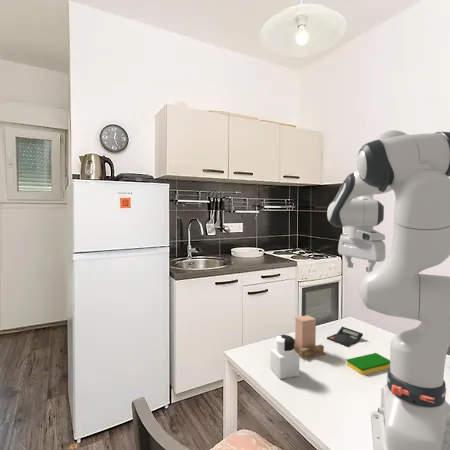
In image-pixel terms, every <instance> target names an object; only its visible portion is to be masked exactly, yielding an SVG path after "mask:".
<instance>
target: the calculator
mask: <svg viewBox="0 0 450 450" xmlns="http://www.w3.org/2000/svg"><path fill="white" fill-rule="evenodd" d="M362 337H363V332H360V331H356V330H353V329H351V328H347V327H345V326H341V327H340V329H339V330H338V331H337V332H336V333H335V334H332V335H330V336H327V337H326V340H329V341H332V342H334V343H336V344H338V343H339V345H341V346H343V345H344V347H346V348H349V347H350V345H351V346H353V345H354V344H356V343H358V342H360V340H361V339H362ZM352 344H353V345H352ZM348 346H349V347H348Z"/></svg>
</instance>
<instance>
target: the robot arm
mask: <svg viewBox="0 0 450 450" xmlns="http://www.w3.org/2000/svg"><path fill="white" fill-rule="evenodd" d="M391 191H393V193H394V196H395V201H394V202H395V203H394V213H393V234H392V235H393V237H392V244H391V249H390V252H389V255H388V257H387V258H386V244H385V242H384V241H385V239H386V235H385V234H384V233H381V232H380V231H378V230H375V229H374V227H377V226H379V225H380V224H381V223H382V222H383V221H384V218H385V217H384V216H385V215H384V214H385V207H384V205H383V204H382V203H381V202H380V201H379V200H376V199H374V195H382V194H387V193H388V192H391ZM326 216H327V222H329V223H330V225H332V227H335V228H344V227H347V232H346V231H345V232H342V233H341V234H340V236H339V240H338V241H339V242H338V246H337V247H338V249H337V252H338V254H339V255H341V256H344V259H345V262H346V264H347V265H346V266H347V268H350V269H353V268H354V263H353V262H352V259H353V258H356V259H360V260H364V261H365V260H366V261H367V262H368V266H366V267H365V272H366V273H367V274H366V275H364V276H363V278H362V280H361V282H360V285H359V295H360V299H361V301H362V303H363V304H364V306H365V307H366V308H367V309H368V310H370V311H373V312H376V313H380V314H382V315H386V316H390V317H396V318H402V319H407V320H413V321H414V320H415V321H417V322H418V321H419V322H420V323H419V325H417V327H414V328H412V329H408V330H403V331H400V332H398V333H397V334H395V335H394V336H393V337H392V338H391V341H390V351H389V352H390V353H389V354H390V357H389V360H390V367H389V368H388V369H387V373H386V379H387V381H386V384H385V385H382V386H381V390H380V407H378V409H377V410H373V411H371V414H370V419H371V421H370V422H371V430H372V440H373V450H450V403H448V401H447V400H446V394H447V387H446V382H445V379H444V378H445V375H444V373H445V365H446V358H447V355H448V354H447V353H448V350H449V348H450V276H447V275H439V274H438V275H436V274H427V273H425V274H424V273H421V272H422V271H425V270H428V269H430V268H434V267H436V266H439V265H441V264H442V263H443V262H445V261H447V259H448V258H449V257H450V131H437V132H436V131H435V132H433V133H430V132H429V133H416V134H415V133H414V134H408V133H405V132H404V131H400V130H387V131H385V132H383V133H381V134H379V135H378V136H377V137H376V138H375V139H374V140H372V141H369V142H367V143H365V144H363V145H362V146H361V148H360V149H359V151H358V154H357V159H356V170H355V171H353V172H351V173H350V174H348V175H347V176H346V177H345V179H344V180H343V182H342V184H341V185H340V187H339V190H338V191H337V194H336V195H335V196H334V198H333V200H332V201H331V202H330V203H329V204H328V207H327V213H326ZM385 259H386V260H385ZM376 262H377V263H381V262H383V263H382V264H381V265H380V266H378V267H377V268H375V269H373V268H374V267H375V265H376V264H377V263H376Z"/></svg>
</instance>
